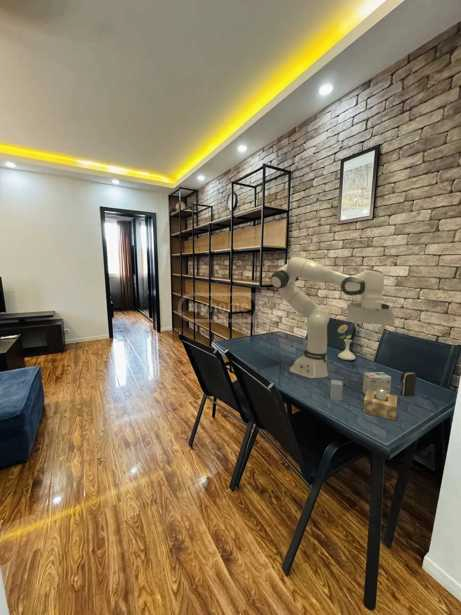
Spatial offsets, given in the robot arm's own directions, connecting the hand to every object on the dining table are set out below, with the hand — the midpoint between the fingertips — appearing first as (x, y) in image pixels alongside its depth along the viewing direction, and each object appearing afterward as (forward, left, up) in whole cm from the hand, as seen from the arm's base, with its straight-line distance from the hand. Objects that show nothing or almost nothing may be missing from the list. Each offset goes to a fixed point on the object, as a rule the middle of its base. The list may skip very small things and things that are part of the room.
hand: (368, 332), depth 123 cm
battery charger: (+18, +16, -33) cm, 41 cm away
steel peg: (+8, -10, -33) cm, 35 cm away
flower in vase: (-18, +55, -33) cm, 67 cm away
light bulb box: (+5, +6, -33) cm, 34 cm away
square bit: (-11, -9, -33) cm, 36 cm away
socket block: (+8, -10, -33) cm, 35 cm away
